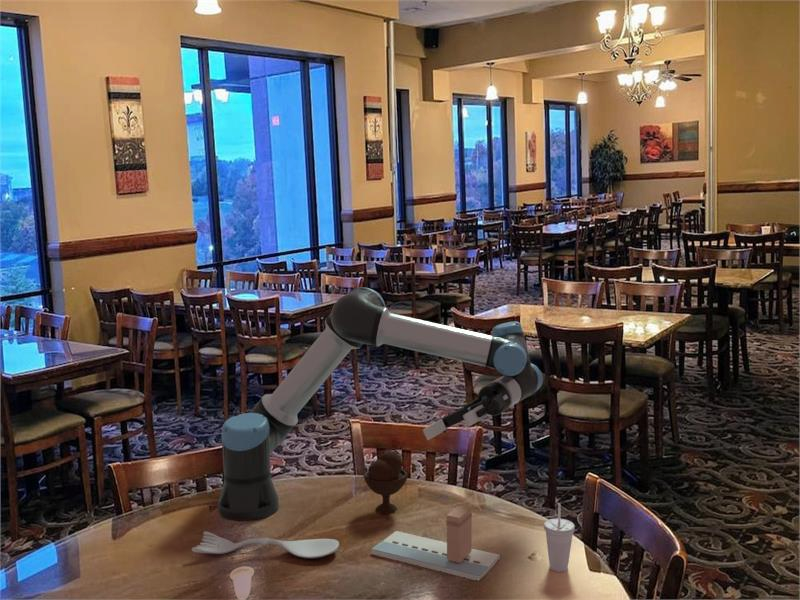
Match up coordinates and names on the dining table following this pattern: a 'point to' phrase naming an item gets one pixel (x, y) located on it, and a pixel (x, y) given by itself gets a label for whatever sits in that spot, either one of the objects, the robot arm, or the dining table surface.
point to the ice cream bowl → (386, 479)
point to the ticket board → (434, 555)
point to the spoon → (298, 548)
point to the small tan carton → (459, 533)
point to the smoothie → (559, 541)
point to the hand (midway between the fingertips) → (445, 427)
